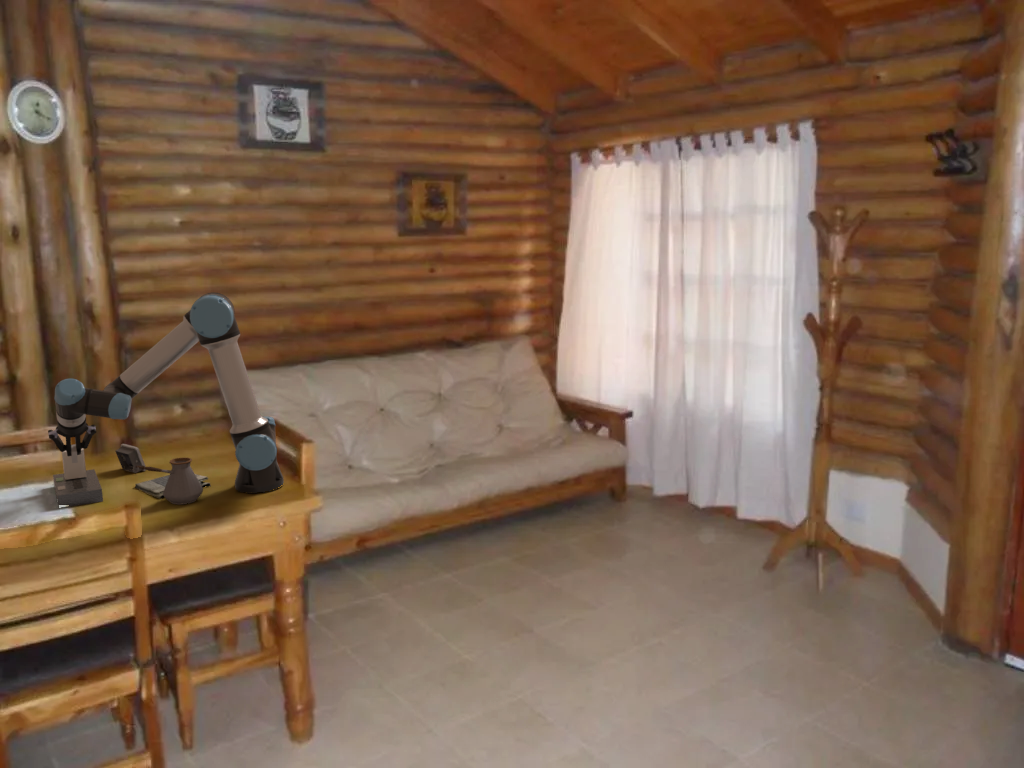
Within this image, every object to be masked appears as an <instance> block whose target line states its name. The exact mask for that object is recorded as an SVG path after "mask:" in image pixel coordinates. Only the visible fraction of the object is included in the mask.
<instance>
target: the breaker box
mask: <svg viewBox="0 0 1024 768" xmlns="http://www.w3.org/2000/svg"><path fill="white" fill-rule="evenodd" d="M86 476H87V477H82V478H75V479H68V480H65V477H64V472H63V473H57V474H52V477H53V486H54V487H55V488H54V491H55V497H56V496H57V497H56V502H57V501H58V502H57V505H69V506H71V507H76V506H82V505H89V504H95V503H101V502H104V498H103V497H104V496H103V488H102V486H101V483H100V480H99V478H98V476H97V473H96V470H95V468H94V469H87V470H86Z"/></svg>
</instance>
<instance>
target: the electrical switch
mask: <svg viewBox="0 0 1024 768" xmlns="http://www.w3.org/2000/svg"><path fill="white" fill-rule="evenodd" d="M115 454H116V457H117V459H118V461H119V463H120V466H121V469H122V470H124V471H126V472H130V473H134V474H137V473H139V472H141V471H142V472H145V471H147V470H145V469H144V470H142V469H139V470H138V468H136V467H135V466H145V467H147V466H146V464H145V461H144V459H143V455H142V454H141V450H140V448H139V447H137V446H134V445H130V444H126V443H122V444H120V447H119V448H117V449H116V450H115ZM134 467H135V468H134ZM133 468H134V472H133ZM137 471H138V472H137ZM135 472H136V473H135Z"/></svg>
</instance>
